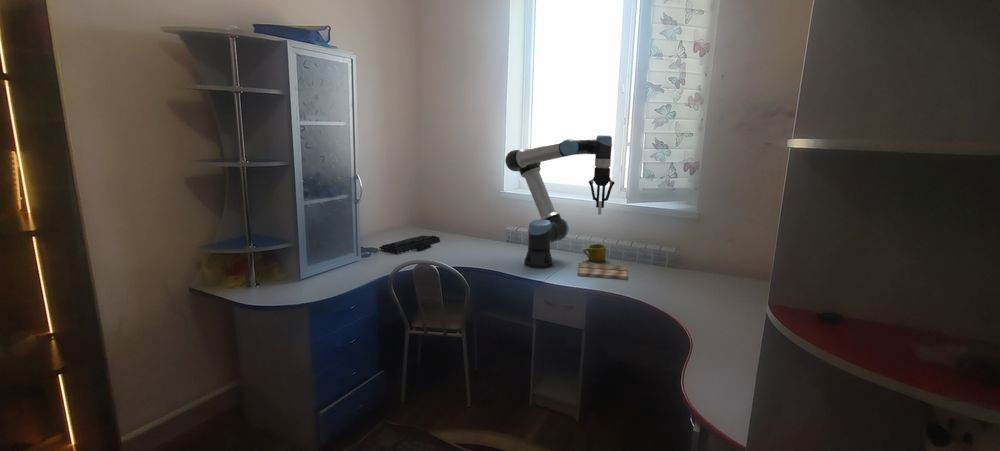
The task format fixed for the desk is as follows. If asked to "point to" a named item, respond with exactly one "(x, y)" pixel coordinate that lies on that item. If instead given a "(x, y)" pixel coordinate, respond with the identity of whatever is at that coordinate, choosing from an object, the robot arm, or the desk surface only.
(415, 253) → the desk surface
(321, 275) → the desk surface
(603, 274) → the floor strip
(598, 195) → the robot arm
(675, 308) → the desk surface
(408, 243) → the black gun
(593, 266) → the plank
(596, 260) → the mug
